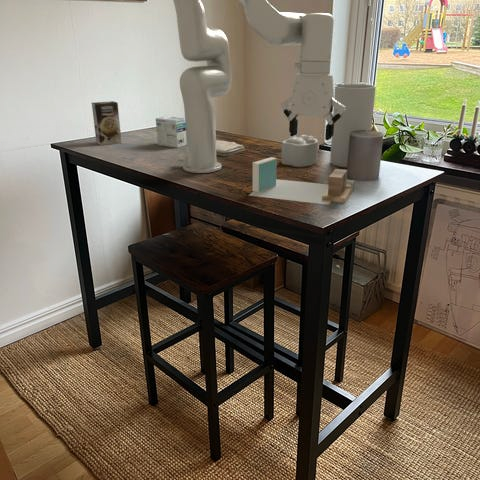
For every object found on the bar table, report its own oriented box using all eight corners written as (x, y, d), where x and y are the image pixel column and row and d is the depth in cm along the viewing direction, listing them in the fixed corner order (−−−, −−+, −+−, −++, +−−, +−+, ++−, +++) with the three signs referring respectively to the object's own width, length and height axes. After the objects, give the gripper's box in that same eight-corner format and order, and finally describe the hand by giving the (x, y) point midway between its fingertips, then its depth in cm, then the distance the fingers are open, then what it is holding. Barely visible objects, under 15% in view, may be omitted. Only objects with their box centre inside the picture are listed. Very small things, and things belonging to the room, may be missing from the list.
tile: (252, 190, 132) (252, 162, 129) (270, 184, 138) (271, 157, 134) (258, 192, 131) (258, 163, 128) (276, 185, 136) (276, 158, 133)
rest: (321, 202, 125) (322, 195, 124) (331, 189, 135) (331, 182, 134) (344, 204, 123) (345, 198, 122) (352, 191, 133) (353, 185, 132)
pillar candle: (343, 174, 149) (347, 125, 142) (375, 173, 148) (380, 125, 142) (349, 183, 140) (353, 132, 134) (382, 183, 139) (388, 132, 133)
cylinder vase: (344, 170, 152) (350, 89, 142) (322, 161, 163) (327, 85, 153) (375, 166, 157) (384, 86, 147) (353, 157, 167) (359, 83, 157)
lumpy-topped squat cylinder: (277, 162, 163) (277, 137, 159) (300, 155, 171) (301, 131, 168) (301, 168, 156) (302, 141, 153) (324, 160, 165) (326, 135, 161)
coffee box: (100, 145, 190) (94, 104, 184) (96, 142, 196) (90, 102, 189) (122, 142, 195) (117, 102, 188) (117, 140, 200) (113, 100, 193)
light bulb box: (188, 144, 190) (187, 117, 186) (178, 148, 185) (176, 120, 180) (168, 142, 195) (166, 115, 191) (157, 145, 190) (154, 117, 186)
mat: (248, 197, 129) (248, 195, 129) (268, 180, 143) (268, 178, 143) (328, 206, 121) (328, 204, 121) (341, 187, 136) (341, 185, 135)
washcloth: (227, 158, 171) (226, 149, 170) (191, 151, 182) (190, 143, 180) (247, 151, 180) (247, 143, 178) (211, 145, 190) (211, 138, 189)
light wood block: (344, 197, 123) (346, 178, 121) (323, 194, 125) (324, 176, 123) (354, 182, 134) (355, 164, 132) (334, 180, 136) (335, 163, 134)
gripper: (276, 68, 119) (274, 136, 126) (344, 71, 111) (338, 143, 118) (288, 65, 125) (286, 131, 132) (353, 68, 117) (347, 138, 124)
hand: (310, 137), depth 125 cm, fingers open, 9 cm apart
